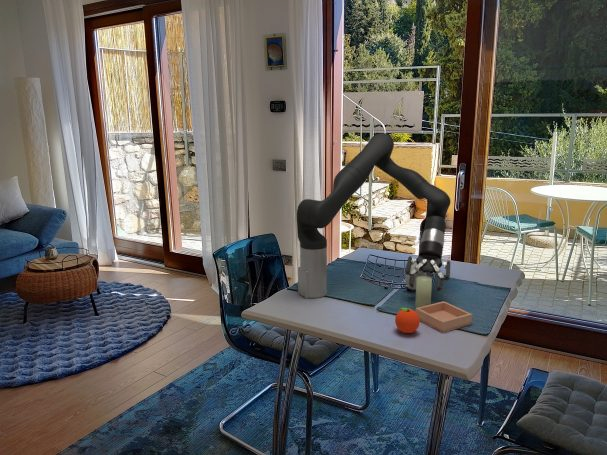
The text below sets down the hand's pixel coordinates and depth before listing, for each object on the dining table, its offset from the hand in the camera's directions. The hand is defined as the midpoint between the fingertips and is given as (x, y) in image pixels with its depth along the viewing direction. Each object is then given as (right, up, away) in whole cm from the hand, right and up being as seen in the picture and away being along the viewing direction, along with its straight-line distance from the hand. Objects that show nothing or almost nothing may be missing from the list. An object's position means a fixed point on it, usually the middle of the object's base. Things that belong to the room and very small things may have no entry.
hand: (424, 288), depth 155 cm
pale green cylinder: (-1, -6, 0) cm, 6 cm away
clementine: (-10, -10, -17) cm, 22 cm away
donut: (+1, -3, +16) cm, 16 cm away
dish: (+3, -9, -11) cm, 14 cm away
